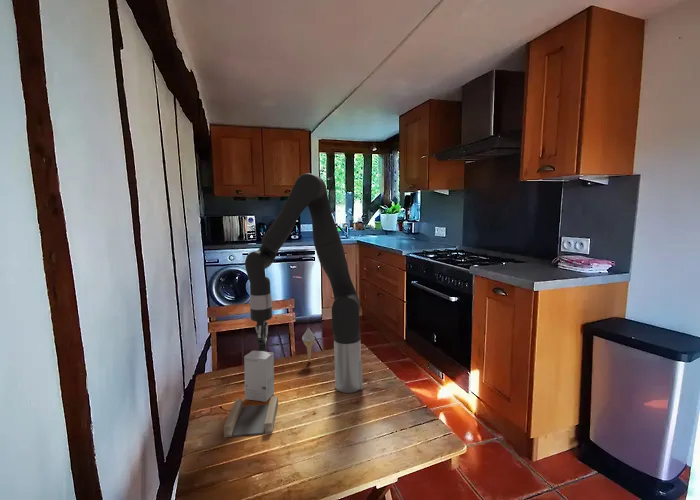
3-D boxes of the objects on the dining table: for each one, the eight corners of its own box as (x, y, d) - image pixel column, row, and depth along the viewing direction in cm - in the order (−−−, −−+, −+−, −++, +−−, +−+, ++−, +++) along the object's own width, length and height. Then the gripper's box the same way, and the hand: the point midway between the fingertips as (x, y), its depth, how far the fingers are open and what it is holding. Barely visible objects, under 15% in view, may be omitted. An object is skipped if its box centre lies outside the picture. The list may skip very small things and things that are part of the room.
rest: (278, 404, 106) (277, 395, 105) (272, 433, 92) (271, 423, 92) (236, 408, 105) (235, 399, 104) (224, 437, 91) (223, 427, 90)
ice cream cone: (317, 359, 139) (316, 324, 137) (314, 365, 133) (313, 329, 132) (304, 358, 139) (303, 324, 138) (301, 364, 134) (299, 329, 132)
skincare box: (244, 399, 109) (241, 356, 108) (254, 390, 115) (251, 349, 114) (267, 402, 107) (265, 358, 106) (276, 392, 113) (273, 351, 111)
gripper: (269, 310, 112) (271, 359, 114) (274, 300, 125) (275, 344, 127) (246, 311, 111) (248, 360, 113) (253, 301, 124) (255, 345, 126)
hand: (263, 352), depth 120 cm, fingers closed
